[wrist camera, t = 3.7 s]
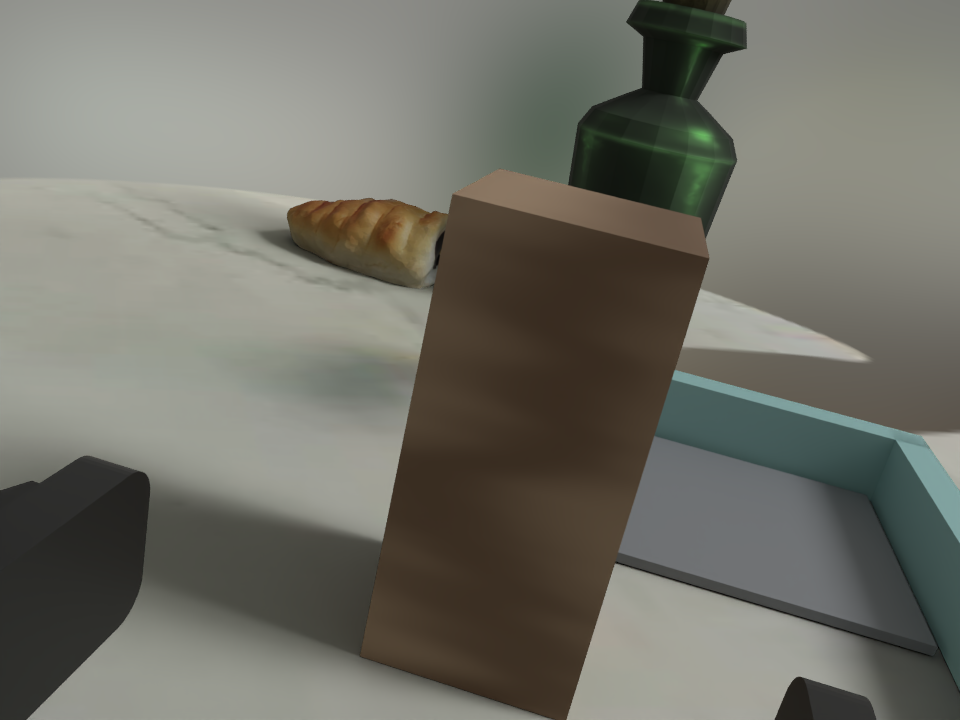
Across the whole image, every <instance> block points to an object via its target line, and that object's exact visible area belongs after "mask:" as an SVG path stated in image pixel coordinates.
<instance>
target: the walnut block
mask: <svg viewBox="0 0 960 720" xmlns="http://www.w3.org/2000/svg"><path fill="white" fill-rule="evenodd" d="M708 261H709V254H708V249H707V245H706V240H705V235H704V230H703V226H702V221H701V218H699V217H695V216H691V215H687V214H683V213H679V212H675V211H671V210H666V209H662V208H658V207H654V206H650V205H646V204H642V203H638V202H634V201H630V200H626V199H622V198H618V197H614V196H609V195H605V194H601V193H597V192H593V191H589V190H585V189H581V188H577V187H573V186H569V185H564V184H560V183H556V182H552V181H548V180H544V179H540V178H536V177H532V176H528V175H524V174H520V173H516V172H512V171H508V170H503V169H498V170H496V171H494V172H493V173H491V174H489V175H487V176H485V177H484V178H481V179H479V180H478V181H476V182H474V183H472V184H470V185H468V186H467V187H465V188H463V189H461V190H459V191H457V192H455V193H453V195H452V199H451V204H450V209H449V214H448V219H447V224H446V229H445V234H444V239H443V244H442V249H441V254H440V259H439V264H438V269H437V274H436V279H435V284H434V289H433V294H432V299H431V304H430V309H429V314H428V319H427V324H426V329H425V334H424V339H423V344H422V349H421V354H420V359H419V364H418V369H417V374H416V379H415V384H414V389H413V394H412V399H411V404H410V409H409V414H408V419H407V424H406V429H405V434H404V439H403V444H402V449H401V454H400V459H399V464H398V469H397V474H396V478H395V483H394V488H393V493H392V498H391V503H390V508H389V513H388V518H387V523H386V528H385V533H384V538H383V543H382V548H381V553H380V558H379V563H378V568H377V573H376V578H375V583H374V588H373V593H372V598H371V603H370V608H369V613H368V618H367V623H366V628H365V633H364V638H363V643H362V648H361V653H360V657H363V658H367V659H370V660H373V661H376V662H379V663H382V664H385V665H388V666H391V667H394V668H397V669H401V670H404V671H407V672H410V673H413V674H416V675H419V676H422V677H425V678H428V679H431V680H435V681H438V682H441V683H444V684H447V685H450V686H453V687H456V688H459V689H462V690H465V691H468V692H472V693H475V694H478V695H481V696H484V697H487V698H490V699H493V700H496V701H499V702H502V703H506V704H509V705H512V706H515V707H518V708H521V709H524V710H527V711H530V712H533V713H536V714H540V715H543V716H546V717H549V718H552V719H555V720H566V719H567V716H568V713H569V709H570V706H571V703H572V700H573V696H574V693H575V690H576V687H577V684H578V680H579V677H580V674H581V671H582V667H583V664H584V661H585V658H586V655H587V651H588V648H589V645H590V642H591V638H592V635H593V632H594V629H595V626H596V622H597V619H598V616H599V613H600V609H601V606H602V603H603V600H604V596H605V593H606V590H607V587H608V584H609V580H610V577H611V574H612V571H613V567H614V564H615V561H616V558H617V555H618V551H619V548H620V545H621V542H622V538H623V535H624V532H625V529H626V526H627V522H628V519H629V516H630V513H631V509H632V506H633V503H634V500H635V497H636V493H637V490H638V487H639V484H640V480H641V477H642V474H643V471H644V468H645V464H646V461H647V458H648V455H649V451H650V448H651V445H652V442H653V438H654V435H655V432H656V429H657V426H658V422H659V419H660V416H661V413H662V409H663V406H664V403H665V400H666V397H667V393H668V390H669V387H670V384H671V380H672V377H673V374H674V371H675V367H676V364H677V361H678V358H679V354H680V351H681V348H682V345H683V342H684V339H685V335H686V332H687V329H688V326H689V322H690V319H691V316H692V313H693V310H694V306H695V303H696V300H697V297H698V293H699V290H700V287H701V283H702V280H703V277H704V274H705V271H706V267H707V264H708Z"/></svg>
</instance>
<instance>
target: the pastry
mask: <svg viewBox="0 0 960 720" xmlns="http://www.w3.org/2000/svg"><path fill="white" fill-rule="evenodd" d="M447 219H448V214H444V213H440V212H437V211H433V212H432V213H429V212H426V211H424V210H422V209H420V208H418V207H416V206H412V205H408V204H405V203H403V202H401V201H397V200H393V199H390V200H374V199H372V198H366V199H361V200H345V201H344V200H338V201H336V202H328V201H322V200H319V201H309V202H306V203H304V204H301V205H298V206H295V207H293V208H290V210H289V211H288V213H287V220H288V224H289V227H290V232H291V236H292V239H293V241H294V242H295V243H296V244H297V245H298V246H299V247H300V248H302V249H304V250H307V251H310V252H312V253H314V254H316V255H318V256H319V257H321V258H324V259H325V260H327V261H328V262H330V263H332V264H335V265H337V266H342V267H345V268H348V269H350V270H353V271H356V272H360V273H362V274H365V275H368V276H372V277H375V278H377V279H380V280H384V281H387V282H390V283H393V284H398V285H402V286H406V287H411V288H421V287H429V286H431V285H433V284H434V283H435V279H436V274H437V269H438V264H439V259H440V254H441V249H442V244H443V239H444V234H445V229H446V224H447Z"/></svg>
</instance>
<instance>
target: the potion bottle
mask: <svg viewBox="0 0 960 720" xmlns="http://www.w3.org/2000/svg"><path fill="white" fill-rule="evenodd" d="M730 2H731V0H663V2H659V1H652V0H639V1H638V3H637V5H636V6H635V8H634V10H633V12H632V13H631V15H630V16H629V18H628V20H627V21H626V22H627V23H628V24H629V25H630V26H631V27H633V28H634V29H635V30H636V31H637V32H639V33H640V34H641V35H642V36H643V75H642V88H640V89H638V90H635V91H632V92H629V93H626V94H624V95H621V96H618V97H616V98H613V99H610V100H608V101H605V102H603V103H600V104H597V105H595V106H592V107H591V109H590V110H589V111H588V112H587V113H586V114H585V116H584V117H583V118H582V119H581V120H580V122H579V123H578V127H577V133H576V139H575V145H574V152H573V158H572V165H571V171H570V177H569V184H568V185H569V186H573V187H577V188H581V189H585V190H589V191H593V192H597V193H601V194H605V195H609V196H614V197H618V198H622V199H626V200H630V201H634V202H638V203H642V204H646V205H650V206H654V207H658V208H662V209H666V210H671V211H675V212H679V213H683V214H687V215H691V216H695V217H699V218H701V221H702V226H703V230H704V235H705V239H706V236H707V234H708V231H709V229H710V227H711V224H712V222H713V219H714V216H715V214H716V212H717V209H718V207H719V204H720V202H721V199H722V197H723V194H724V192H725V189H726V187H727V184H728V182H729V179H730V177H731V174H732V172H733V169H734V167H735V165H736V162H737V158H736V153H735V148H734V143H733V139H732V138H731V137H730V136H729V134H728V133H727V132H726V131H725V130H724V129H723V128H722V127H721V126H720V124H719V123H718V122H717V121H716V120H715V119H714V118H713V117H712V116H711V114H710V113H709V112H708V111H707V110H706V109H705V108H704V107H703V106H702V105H701V104H700V103H699V102H698V101H697V100H698V98H699V96H700V95H701V93H702V91H703V89H704V87H705V86H706V84H707V82H708V80H709V78H710V77H711V75H712V73H713V71H714V70H715V68H716V66H717V64H718V62H719V60H720V59H721V57H722V55H723V54H726V53H730V52H734V51H738V50H743V49H746V48H747V43H746V42H747V40H746V39H747V37H746V23H745V22H744V21H741V20H738V19H735V18H732V17H729V16H725V15H724V14H725V12H726V10H727V8H728V6H729V4H730Z"/></svg>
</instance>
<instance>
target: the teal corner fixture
mask: <svg viewBox="0 0 960 720" xmlns="http://www.w3.org/2000/svg"><path fill="white" fill-rule="evenodd" d="M870 501H871V503H872V505H873V507H874V510H875V512H876V514H877V516H878V518H879V520H880V522H881V525H882V527H883V529H884V531H885V533H886V535H887V537H888V539H889V542H890V544H891V546H892V548H893V550H894V552H895V554H896V556H897V559H898V561H899V563H900V565H901V567H902V569H903V571H904V573H905V576H906V578H907V580H908V582H909V584H910V586H911V588H912V591H913V593H914V595H915V597H916V599H917V601H918V603H919V605H920V608H921V610H922V612H923V614H924V616H925V618H926V620H927V622H928V625H929V627H930V629H931V631H932V633H933V635H934V637H935V639H936V642H937V644H938V646H939V648H940V650H941V652H942V654H943V657H944V659H945V661H946V663H947V665H948V667H949V669H950V671H951V674H952V676H953V678H954V680H955V682H956V684H957V686H958V688H959V691H960V491H959V489H958V488H957V486H956V485H955V484H954V482H953V481H952V479H951V478H950V476H949V475H948V474H947V472H946V471H945V469H944V468H943V466H942V465H941V464H940V462H939V461H938V459H937V458H936V456H935V455H934V453H933V452H932V451H931V449H930V448H929V446H928V445H927V443H926V442H925V441H924V439H923V438H922V436H919V435H915V434H911V433H908V432H904V431H900V430H897V429H893V428H889V427H885V426H881V425H878V424H874V423H870V422H867V421H863V420H859V419H856V418H851V417H848V416H844V415H840V414H837V413H833V412H829V411H825V410H822V409H818V408H814V407H810V406H807V405H803V404H800V403H796V402H792V401H788V400H784V399H781V398H777V397H773V396H770V395H766V394H762V393H759V392H755V391H751V390H747V389H744V388H740V387H736V386H732V385H729V384H725V383H721V382H718V381H713V380H710V379H706V378H702V377H698V376H695V375H691V374H688V373H684V372H680V371H676V370H675V371H674V374H673V377H672V380H671V384H670V387H669V390H668V393H667V397H666V400H665V403H664V406H663V409H662V413H661V416H660V419H659V422H658V426H657V429H656V432H655V435H654V438H653V442H652V445H651V448H650V451H649V455H648V458H647V461H646V464H645V468H644V471H643V474H642V477H641V480H640V484H639V487H638V490H637V493H636V497H635V500H634V503H633V506H632V509H631V513H630V516H629V519H628V522H627V526H626V529H625V532H624V535H623V538H622V542H621V545H620V548H619V551H618V555H617V558H616V562H619V563H622V564H626V565H629V566H632V567H636V568H639V569H642V570H646V571H649V572H652V573H656V574H659V575H663V576H666V577H669V578H673V579H676V580H679V581H683V582H686V583H689V584H693V585H696V586H699V587H703V588H706V589H710V590H713V591H716V592H720V593H723V594H726V595H730V596H733V597H736V598H740V599H743V600H746V601H750V602H753V603H756V604H760V605H763V606H767V607H770V608H773V609H777V610H780V611H783V612H787V613H790V614H793V615H797V616H800V617H803V618H807V619H810V620H814V621H817V622H820V623H824V624H827V625H830V626H834V627H837V628H840V629H844V630H847V631H850V632H854V633H857V634H860V635H864V636H867V637H871V638H874V639H877V640H881V641H884V642H887V643H891V644H894V645H897V646H901V647H904V648H907V649H911V650H914V651H918V652H921V653H924V654H928V655H931V656H934V654H935V652H936V650H937V648H938V647H937V644H936V642H935V640H934V638H933V636H932V634H931V632H930V629H929V627H928V625H927V623H926V621H925V619H924V617H923V614H922V612H921V610H920V608H919V606H918V604H917V602H916V599H915V597H914V595H913V593H912V591H911V589H910V587H909V584H908V582H907V580H906V578H905V576H904V574H903V572H902V570H901V567H900V565H899V563H898V561H897V559H896V557H895V555H894V552H893V550H892V548H891V546H890V544H889V542H888V540H887V537H886V535H885V533H884V531H883V529H882V527H881V525H880V522H879V520H878V518H877V516H876V514H875V512H874V510H873V507H872V505H871V503H870Z"/></svg>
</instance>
